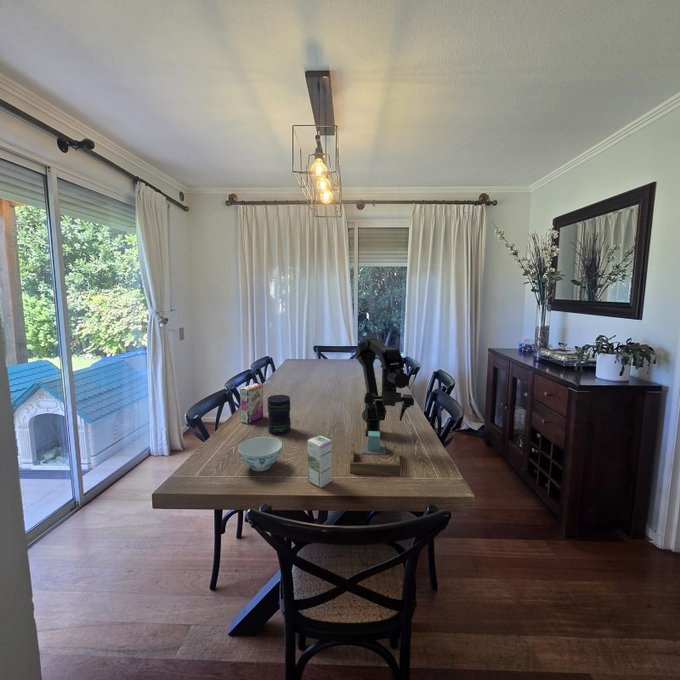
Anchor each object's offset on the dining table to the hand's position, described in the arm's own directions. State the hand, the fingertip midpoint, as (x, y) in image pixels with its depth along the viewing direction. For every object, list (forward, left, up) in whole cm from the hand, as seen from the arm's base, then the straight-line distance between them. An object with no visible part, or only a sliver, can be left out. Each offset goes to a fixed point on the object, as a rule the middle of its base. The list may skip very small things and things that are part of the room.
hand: (388, 420), depth 137 cm
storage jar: (-13, -46, -12) cm, 50 cm away
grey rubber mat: (+1, -5, -12) cm, 13 cm away
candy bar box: (-25, -62, -12) cm, 68 cm away
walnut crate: (+12, -5, -12) cm, 18 cm away
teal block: (+1, -5, -11) cm, 13 cm away
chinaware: (+18, -45, -12) cm, 50 cm away
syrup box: (+26, -23, -12) cm, 37 cm away
